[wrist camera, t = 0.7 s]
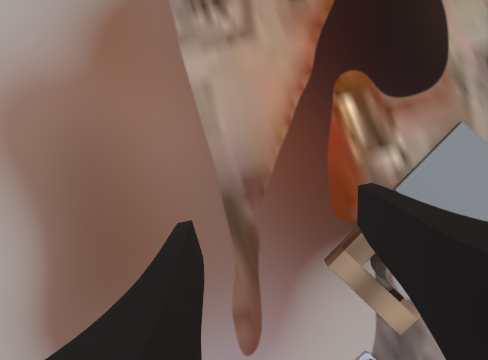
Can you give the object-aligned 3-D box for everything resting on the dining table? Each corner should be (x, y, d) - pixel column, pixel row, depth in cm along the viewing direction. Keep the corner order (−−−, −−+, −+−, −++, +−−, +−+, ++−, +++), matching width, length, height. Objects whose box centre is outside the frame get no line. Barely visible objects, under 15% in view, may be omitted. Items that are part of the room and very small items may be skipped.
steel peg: (415, 259, 32) (462, 286, 24) (389, 285, 33) (427, 319, 25) (388, 234, 33) (426, 252, 25) (362, 259, 33) (391, 285, 25)
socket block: (456, 259, 32) (472, 266, 29) (390, 323, 33) (400, 335, 30) (387, 195, 33) (396, 197, 30) (324, 259, 33) (328, 266, 31)
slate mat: (532, 186, 31) (536, 186, 31) (463, 252, 32) (466, 253, 31) (460, 122, 32) (462, 121, 31) (393, 189, 32) (395, 189, 32)
